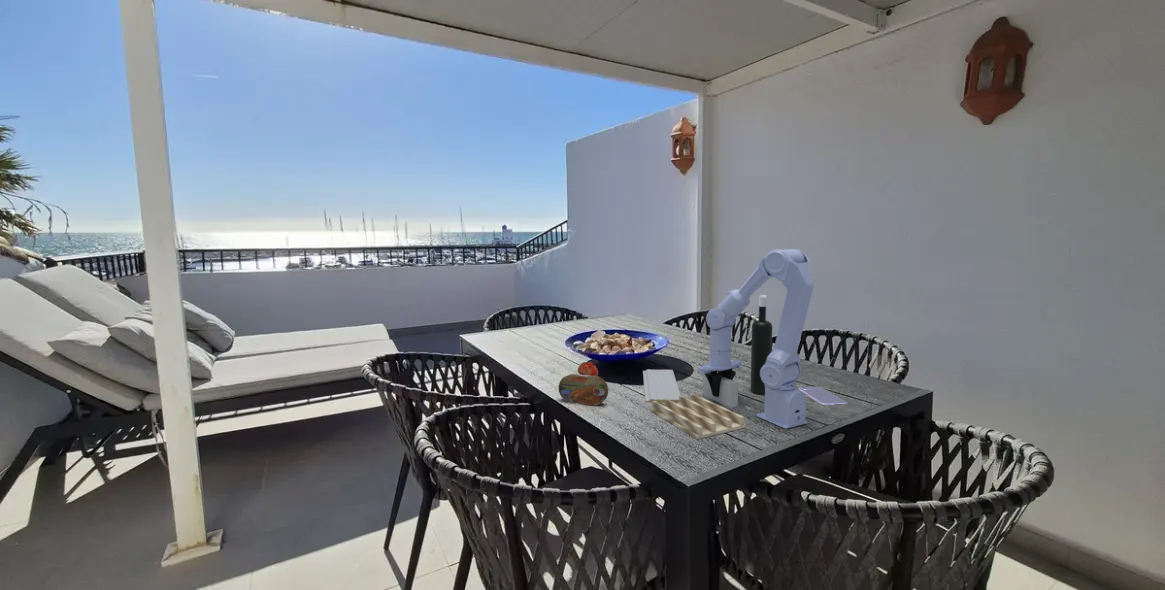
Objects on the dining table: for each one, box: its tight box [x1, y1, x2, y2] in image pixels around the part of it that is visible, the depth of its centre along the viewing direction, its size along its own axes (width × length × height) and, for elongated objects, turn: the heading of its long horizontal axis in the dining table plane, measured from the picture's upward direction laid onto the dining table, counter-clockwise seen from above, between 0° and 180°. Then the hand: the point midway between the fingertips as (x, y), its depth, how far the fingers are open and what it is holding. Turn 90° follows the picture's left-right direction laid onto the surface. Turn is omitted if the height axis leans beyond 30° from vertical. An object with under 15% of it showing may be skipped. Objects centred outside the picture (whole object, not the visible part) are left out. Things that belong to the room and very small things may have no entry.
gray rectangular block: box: [702, 375, 739, 409], centre depth 132 cm, size 12×2×7 cm, turn 24°
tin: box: [558, 373, 609, 407], centre depth 132 cm, size 15×3×8 cm, turn 68°
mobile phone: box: [797, 386, 848, 406], centre depth 134 cm, size 8×1×15 cm
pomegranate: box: [577, 361, 599, 377], centre depth 152 cm, size 7×7×10 cm
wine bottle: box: [749, 294, 773, 396], centre depth 137 cm, size 6×6×30 cm
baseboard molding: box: [640, 365, 682, 404], centre depth 147 cm, size 31×3×12 cm
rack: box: [650, 393, 747, 440], centre depth 119 cm, size 20×15×3 cm
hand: (719, 395), depth 132 cm, fingers closed on gray rectangular block, 2 cm apart
